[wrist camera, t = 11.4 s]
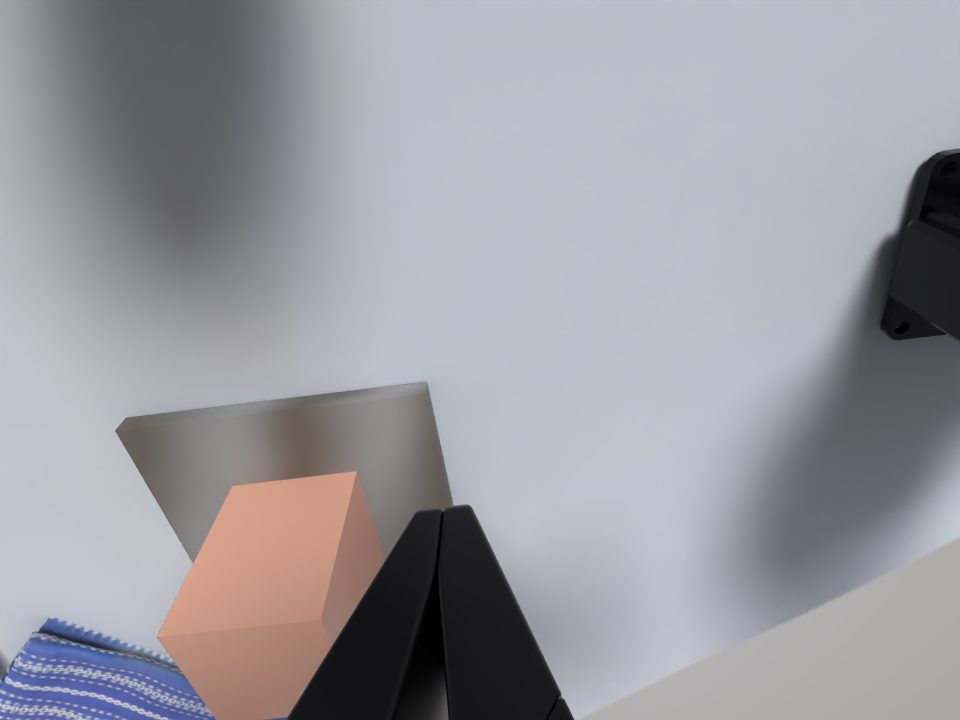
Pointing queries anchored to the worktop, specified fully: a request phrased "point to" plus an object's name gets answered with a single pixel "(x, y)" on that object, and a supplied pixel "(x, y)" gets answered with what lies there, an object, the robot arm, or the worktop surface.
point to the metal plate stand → (293, 454)
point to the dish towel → (95, 680)
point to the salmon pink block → (272, 592)
